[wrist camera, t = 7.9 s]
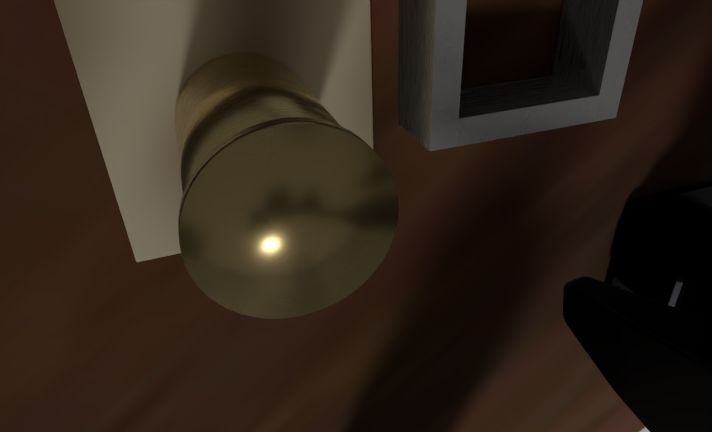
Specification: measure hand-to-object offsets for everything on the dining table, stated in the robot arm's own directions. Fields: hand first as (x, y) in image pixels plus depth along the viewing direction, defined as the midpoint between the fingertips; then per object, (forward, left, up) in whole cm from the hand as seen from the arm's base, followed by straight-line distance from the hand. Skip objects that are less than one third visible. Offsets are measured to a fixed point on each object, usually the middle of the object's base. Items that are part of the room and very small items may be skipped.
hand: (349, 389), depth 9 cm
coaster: (0, -1, -13) cm, 13 cm away
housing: (-11, -4, -13) cm, 17 cm away
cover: (0, -1, -12) cm, 13 cm away
